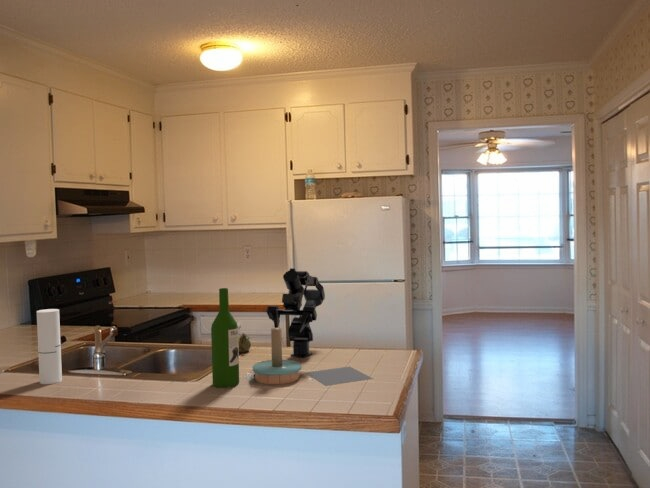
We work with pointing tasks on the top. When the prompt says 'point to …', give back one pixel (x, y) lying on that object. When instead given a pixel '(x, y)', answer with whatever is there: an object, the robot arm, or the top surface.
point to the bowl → (277, 378)
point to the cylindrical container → (49, 346)
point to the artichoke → (244, 343)
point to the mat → (338, 376)
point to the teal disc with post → (276, 359)
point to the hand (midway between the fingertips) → (287, 331)
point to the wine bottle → (225, 345)
